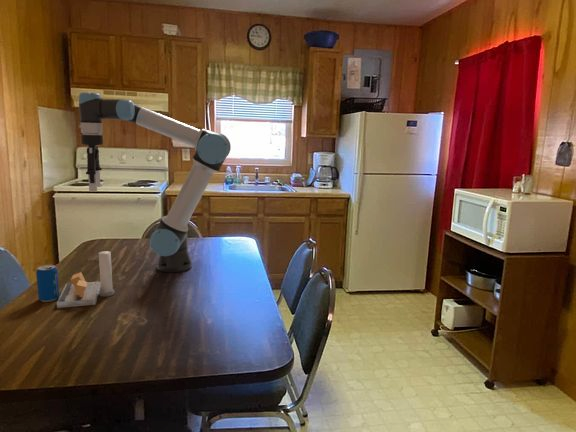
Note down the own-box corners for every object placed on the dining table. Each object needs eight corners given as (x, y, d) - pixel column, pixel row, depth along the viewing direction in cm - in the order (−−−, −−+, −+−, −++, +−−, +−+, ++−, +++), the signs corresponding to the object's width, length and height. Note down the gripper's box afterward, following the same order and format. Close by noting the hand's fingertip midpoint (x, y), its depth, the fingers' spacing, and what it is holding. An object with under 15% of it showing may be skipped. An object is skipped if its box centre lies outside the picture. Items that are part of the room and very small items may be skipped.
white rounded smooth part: (115, 290, 158) (112, 250, 155) (114, 296, 153) (111, 254, 150) (100, 292, 156) (97, 251, 153) (98, 297, 151) (96, 255, 148)
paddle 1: (86, 282, 158) (81, 271, 157) (84, 287, 153) (78, 276, 152) (78, 285, 158) (73, 274, 156) (76, 290, 153) (70, 280, 151)
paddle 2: (83, 293, 150) (87, 281, 150) (81, 299, 145) (85, 287, 145) (75, 291, 149) (79, 279, 149) (72, 297, 144) (76, 285, 144)
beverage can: (50, 303, 145) (47, 270, 143) (34, 301, 146) (31, 269, 144) (63, 296, 151) (61, 265, 149) (48, 294, 152) (45, 263, 150)
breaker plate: (100, 286, 162) (100, 280, 162) (95, 304, 145) (95, 298, 145) (66, 289, 158) (65, 283, 158) (57, 308, 142) (56, 301, 141)
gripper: (85, 133, 171) (88, 184, 175) (76, 134, 148) (80, 193, 152) (105, 134, 173) (107, 184, 177) (99, 135, 150) (102, 193, 154)
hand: (95, 189), depth 165 cm, fingers open, 13 cm apart
